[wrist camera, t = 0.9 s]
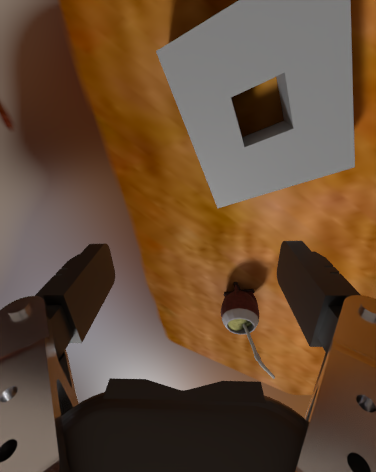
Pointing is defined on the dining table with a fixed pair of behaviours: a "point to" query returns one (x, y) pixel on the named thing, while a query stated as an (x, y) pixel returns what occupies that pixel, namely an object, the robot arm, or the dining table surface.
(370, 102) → the dining table surface
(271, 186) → the socket block
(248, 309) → the mate gourd
